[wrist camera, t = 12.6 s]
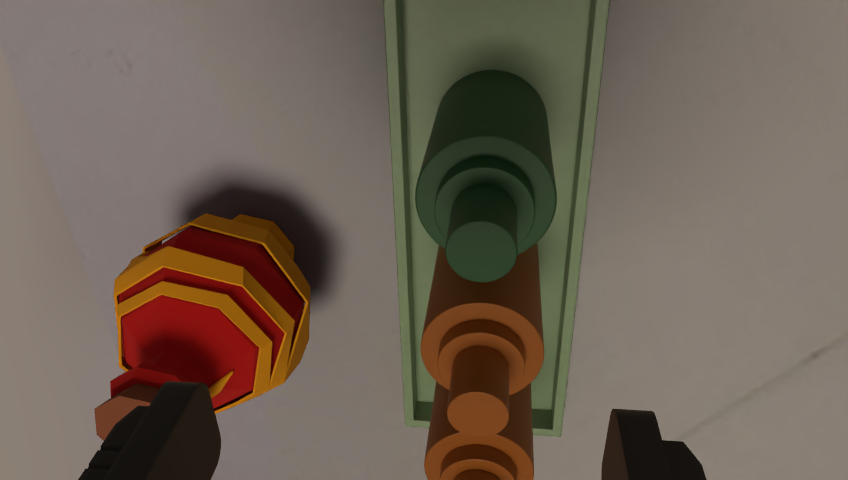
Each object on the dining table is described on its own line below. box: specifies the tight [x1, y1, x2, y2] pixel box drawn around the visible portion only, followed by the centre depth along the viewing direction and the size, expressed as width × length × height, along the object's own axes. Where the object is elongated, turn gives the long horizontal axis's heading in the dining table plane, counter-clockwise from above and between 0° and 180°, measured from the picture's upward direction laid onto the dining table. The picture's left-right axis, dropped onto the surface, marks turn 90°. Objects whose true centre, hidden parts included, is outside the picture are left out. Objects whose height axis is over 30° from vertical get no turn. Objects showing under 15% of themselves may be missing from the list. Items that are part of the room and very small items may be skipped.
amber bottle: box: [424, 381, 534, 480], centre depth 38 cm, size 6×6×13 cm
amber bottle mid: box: [420, 243, 544, 437], centre depth 34 cm, size 6×6×13 cm
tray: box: [383, 0, 610, 437], centre depth 38 cm, size 29×10×2 cm, turn 1°
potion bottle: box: [95, 213, 311, 440], centre depth 35 cm, size 10×10×15 cm
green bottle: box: [415, 70, 557, 282], centre depth 30 cm, size 6×6×13 cm
